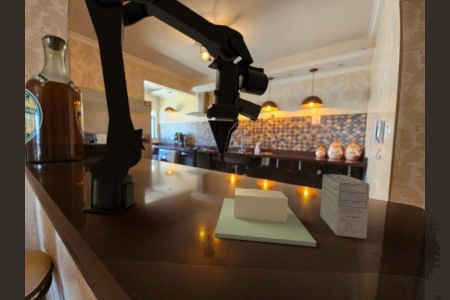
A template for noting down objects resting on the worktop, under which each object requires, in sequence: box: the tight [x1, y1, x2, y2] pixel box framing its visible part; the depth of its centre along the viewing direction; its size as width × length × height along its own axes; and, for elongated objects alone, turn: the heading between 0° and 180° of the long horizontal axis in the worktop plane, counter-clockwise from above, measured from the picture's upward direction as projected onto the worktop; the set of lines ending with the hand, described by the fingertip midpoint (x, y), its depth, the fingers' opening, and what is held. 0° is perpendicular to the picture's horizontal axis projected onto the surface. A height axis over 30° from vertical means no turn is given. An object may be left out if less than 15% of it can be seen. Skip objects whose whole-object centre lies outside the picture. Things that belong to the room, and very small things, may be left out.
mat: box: [214, 197, 317, 247], centre depth 34 cm, size 14×17×1 cm
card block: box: [234, 187, 289, 222], centre depth 34 cm, size 5×9×4 cm, turn 85°
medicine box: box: [320, 173, 370, 240], centre depth 32 cm, size 8×4×9 cm, turn 168°
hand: (223, 153), depth 45 cm, fingers open, 9 cm apart
